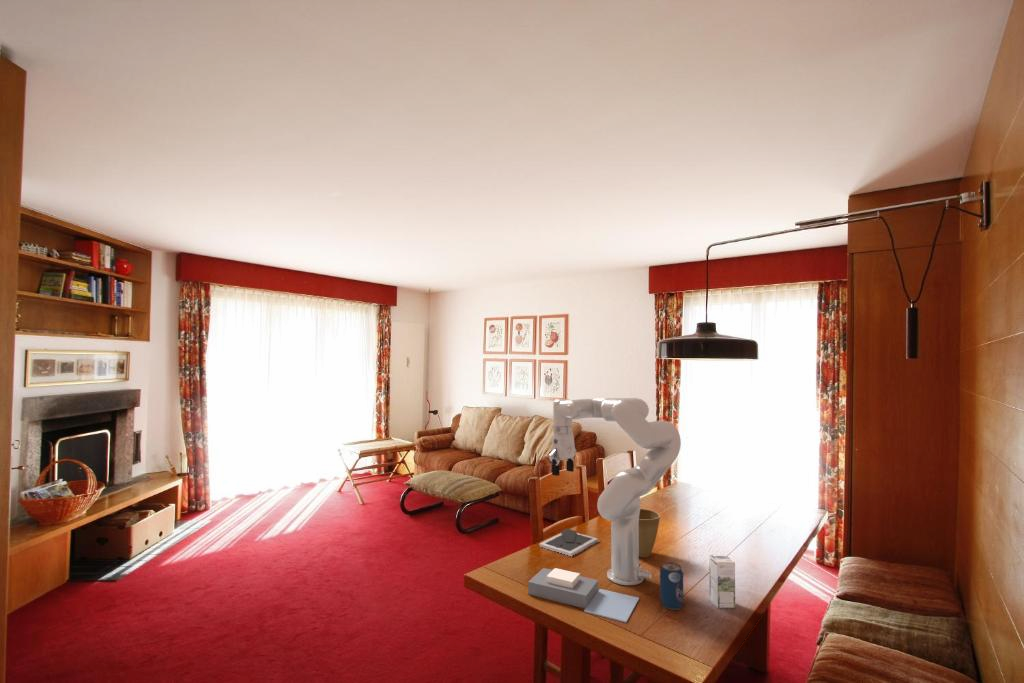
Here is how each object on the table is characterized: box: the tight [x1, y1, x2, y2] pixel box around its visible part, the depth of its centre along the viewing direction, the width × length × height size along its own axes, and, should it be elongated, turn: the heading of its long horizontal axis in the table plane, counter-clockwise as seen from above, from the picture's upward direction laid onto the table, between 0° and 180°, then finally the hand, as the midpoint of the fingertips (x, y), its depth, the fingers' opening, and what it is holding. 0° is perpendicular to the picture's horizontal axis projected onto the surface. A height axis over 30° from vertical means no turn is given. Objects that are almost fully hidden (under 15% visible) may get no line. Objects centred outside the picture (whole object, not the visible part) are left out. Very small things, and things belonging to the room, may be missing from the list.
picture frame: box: [538, 528, 599, 558], centre depth 200 cm, size 16×3×21 cm
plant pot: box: [638, 508, 661, 559], centre depth 190 cm, size 15×15×16 cm
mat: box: [583, 588, 640, 624], centre depth 149 cm, size 13×16×1 cm
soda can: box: [659, 562, 685, 611], centre depth 149 cm, size 7×7×12 cm
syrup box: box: [708, 554, 736, 609], centre depth 150 cm, size 6×6×14 cm
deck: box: [527, 567, 599, 610], centre depth 157 cm, size 20×12×4 cm, turn 62°
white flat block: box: [547, 567, 581, 588], centre depth 157 cm, size 9×7×2 cm
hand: (563, 473), depth 190 cm, fingers open, 9 cm apart
